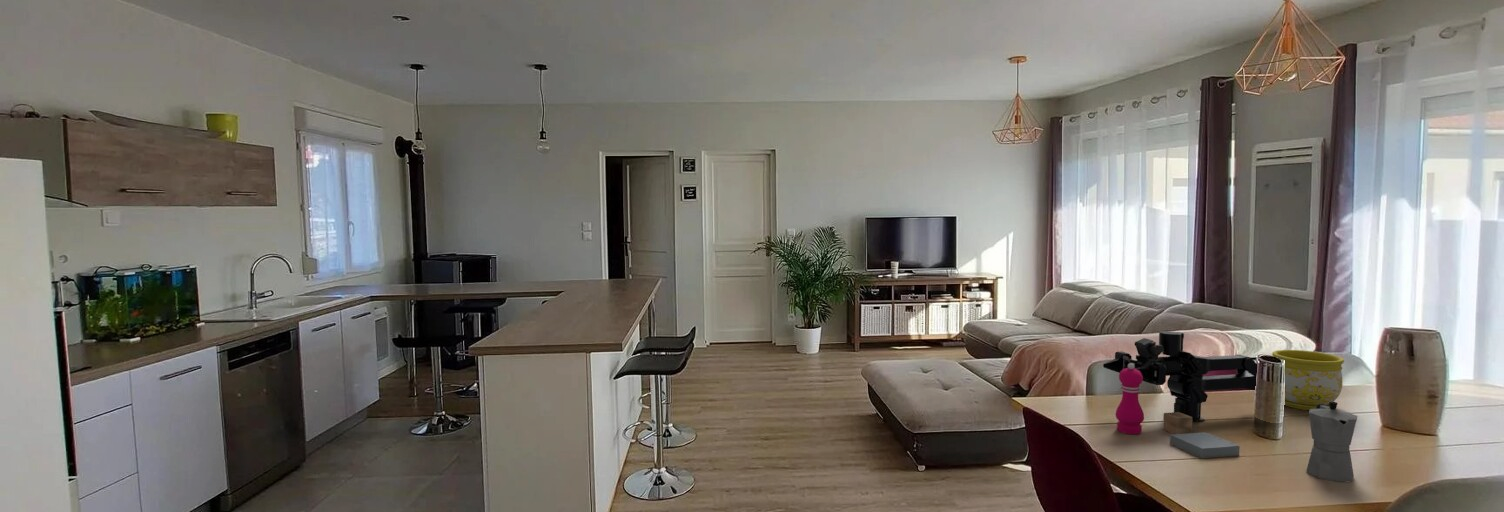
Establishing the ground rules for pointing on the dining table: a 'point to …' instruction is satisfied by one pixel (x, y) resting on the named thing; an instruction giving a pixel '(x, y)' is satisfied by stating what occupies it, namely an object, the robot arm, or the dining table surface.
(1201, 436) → the slate plinth
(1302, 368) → the flowerpot
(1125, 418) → the pepper mill
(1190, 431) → the walnut cube
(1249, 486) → the dining table surface
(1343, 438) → the coffeepot
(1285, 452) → the dining table surface
